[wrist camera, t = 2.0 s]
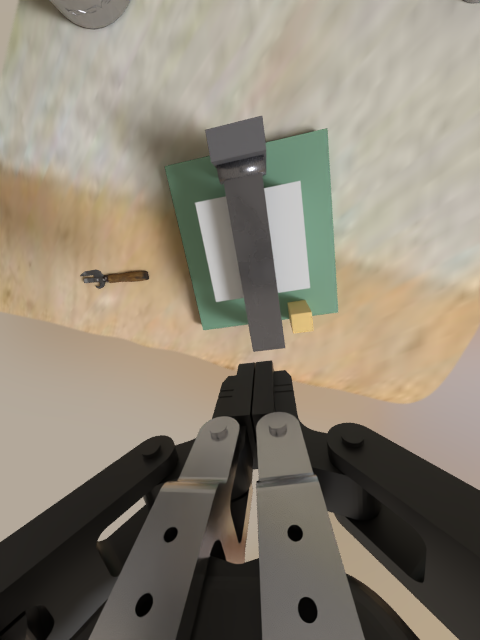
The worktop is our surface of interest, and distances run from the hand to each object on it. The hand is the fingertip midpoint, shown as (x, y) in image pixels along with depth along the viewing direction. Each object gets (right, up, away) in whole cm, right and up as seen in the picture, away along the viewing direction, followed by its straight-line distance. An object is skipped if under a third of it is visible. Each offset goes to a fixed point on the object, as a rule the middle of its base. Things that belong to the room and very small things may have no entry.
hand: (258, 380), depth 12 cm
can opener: (-16, +8, +21) cm, 28 cm away
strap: (+1, +9, +16) cm, 18 cm away
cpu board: (+1, +11, +18) cm, 21 cm away
